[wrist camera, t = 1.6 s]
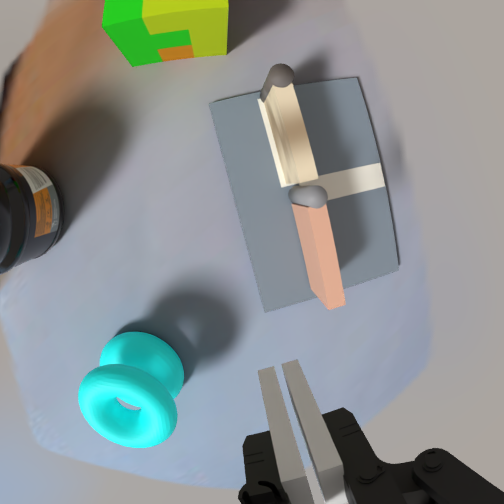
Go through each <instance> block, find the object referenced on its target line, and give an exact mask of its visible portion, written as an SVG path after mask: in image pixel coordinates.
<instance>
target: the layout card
mask: <svg viewBox="0 0 504 504" xmlns="http://www.w3.org/2000/svg"><path fill="white" fill-rule="evenodd" d="M293 87H294V90H295V94H296V97H297V100H298V104H299V107H300V111H301V114H302V117H303V121H304V125H305V128H306V132H307V135H308V139H309V143H310V146H311V150H312V154H313V158H314V162H315V166H316V170H317V174H318V178H319V179H315V180H311V181H307V182H303V183H292V184H286V183H285V179H284V175H283V171H282V168H281V164H280V160H279V156H278V152H277V149H276V145H275V141H274V138H273V134H272V130H271V127H270V123H269V120H268V116H267V112H266V109H265V105H264V103H263V102H262V101H261V99H260V93H261V92H256V93H251V94H247V95H242V96H238V97H233V98H229V99H225V100H221V101H217V102H213V103H209V107H210V111H211V114H212V118H213V122H214V126H215V129H216V133H217V137H218V141H219V144H220V148H221V152H222V155H223V159H224V163H225V167H226V170H227V174H228V178H229V182H230V185H231V189H232V193H233V196H234V200H235V204H236V208H237V211H238V215H239V219H240V222H241V226H242V230H243V234H244V237H245V241H246V245H247V248H248V252H249V256H250V260H251V263H252V267H253V271H254V274H255V278H256V282H257V285H258V289H259V293H260V296H261V300H262V304H263V307H264V311H265V313H266V312H269V311H273V310H276V309H280V308H283V307H286V306H290V305H293V304H297V303H300V302H303V301H307V300H310V299H313V298H316V297H317V296H316V294H315V293H314V292H313V291H312V290H311V287H310V283H309V278H308V273H307V269H306V264H305V260H304V255H303V251H302V247H301V242H300V238H299V234H298V229H297V225H296V221H295V217H294V213H293V209H292V205H291V204H292V202H291V201H290V199H289V196H288V193H289V190H290V189H291V188H292V187H294V186H307V185H318V186H321V187H323V188H324V189H325V190H326V192H327V195H328V199H327V202H326V206H327V210H328V215H329V219H330V224H331V229H332V233H333V238H334V243H335V248H336V253H337V259H338V264H339V269H340V275H341V280H342V286H343V289H345V288H348V287H351V286H354V285H357V284H360V283H363V282H366V281H369V280H372V279H375V278H378V277H381V276H384V275H387V274H390V273H393V272H395V271H398V270H399V267H398V259H397V251H396V244H395V237H394V230H393V224H392V218H391V212H390V206H389V201H388V196H387V191H386V186H385V181H384V176H383V171H382V167H381V163H380V158H379V154H378V150H377V146H376V142H375V138H374V134H373V130H372V127H371V123H370V119H369V116H368V112H367V109H366V105H365V102H364V99H363V95H362V92H361V89H360V86H359V83H358V80H357V78H348V79H339V80H330V81H322V82H314V83H307V84H301V85H294V86H293Z"/></svg>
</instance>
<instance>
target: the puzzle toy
mask: <svg viewBox="0 0 504 504" xmlns="http://www.w3.org/2000/svg"><path fill="white" fill-rule="evenodd" d="M228 10H229V5H228V0H105V5H104V13H103V21H102V28H103V29H104V30H105V32H106V33H107V34H108V35H109V37H110V38H111V39H112V41H113V42H114V43H115V45H116V46H117V47H118V48H119V50H120V51H121V52H122V54H123V55H124V56H125V58H126V59H127V60H128V61H129V63H130V64H131V65H132V67H134V66H139V65H145V64H151V63H157V62H163V61H170V60H177V59H186V58H194V57H205V56H216V55H227V31H228Z"/></svg>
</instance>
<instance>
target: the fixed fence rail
mask: <svg viewBox="0 0 504 504" xmlns="http://www.w3.org/2000/svg"><path fill="white" fill-rule="evenodd" d="M293 79H294V72H293V70H292V69H291V68H290V67H289V66H288V65H285V64H276V65H274V66H273V67H272V68H271V69H270V71H269V74H268V76H267V78H266V81H265V83H264V86H263V88H262V90H261V93H260V99H261V101H262V102H263V103H264V105H265V109H266V112H267V116H268V120H269V123H270V127H271V130H272V134H273V138H274V141H275V145H276V149H277V152H278V156H279V160H280V164H281V168H282V171H283V175H284V179H285V183H286V184H292V183H303V182H307V181H311V180H315V179H319V178H318V174H317V170H316V166H315V162H314V158H313V154H312V150H311V146H310V143H309V139H308V135H307V132H306V128H305V125H304V121H303V117H302V114H301V111H300V107H299V104H298V100H297V97H296V94H295V90H294V87H293V84H292V81H293Z"/></svg>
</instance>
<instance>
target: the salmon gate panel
mask: <svg viewBox="0 0 504 504" xmlns="http://www.w3.org/2000/svg"><path fill="white" fill-rule="evenodd" d="M288 196H289V199H290V201H291V202H292V204H291V205H292V209H293V213H294V217H295V221H296V225H297V229H298V234H299V238H300V242H301V247H302V251H303V255H304V260H305V264H306V269H307V273H308V278H309V283H310V287H311V290H312V291H313V292H314V293H315V294H316V296H317V297H318V298H319V299H320V300H321V301H322V303H323V304H324V305H325V306H326V307H327V309H328V310H330V309H334V308H337V307H340V306H343V305H346V304H345V298H344V292H343V286H342V280H341V275H340V269H339V264H338V259H337V253H336V248H335V243H334V238H333V233H332V229H331V224H330V219H329V215H328V210H327V206H326V202H327V199H328V195H327V192H326V190H325V189H324V188H323V187H321V186H318V185H307V186H294V187H292V188H291V189H290V190H289V193H288Z"/></svg>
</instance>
